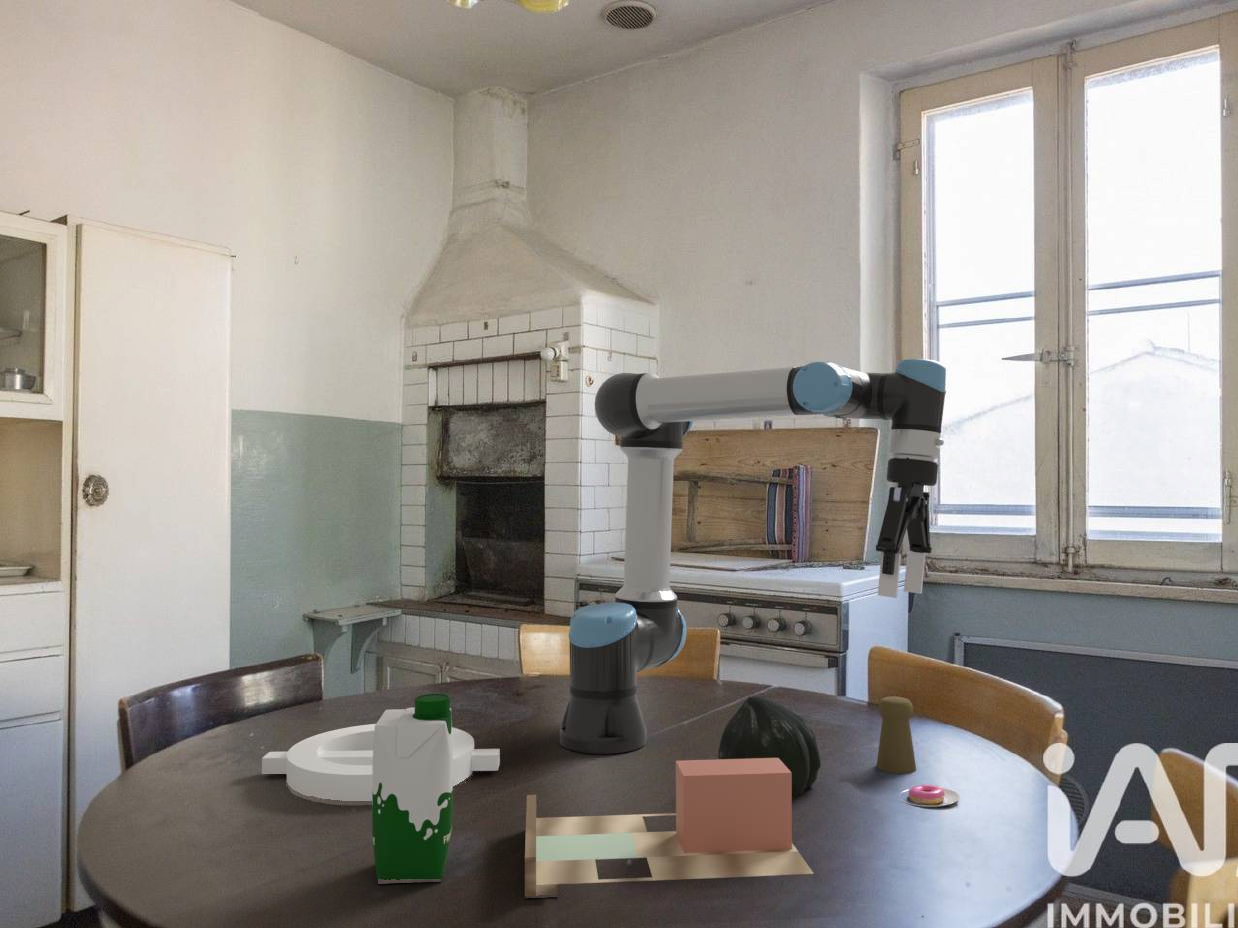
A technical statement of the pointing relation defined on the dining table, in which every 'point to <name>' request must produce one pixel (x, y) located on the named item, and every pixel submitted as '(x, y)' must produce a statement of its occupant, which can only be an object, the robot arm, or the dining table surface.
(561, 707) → the dining table surface
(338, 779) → the ring with crossbar
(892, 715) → the cork
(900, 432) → the robot arm
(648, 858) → the board
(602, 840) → the pad
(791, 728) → the squash
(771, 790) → the brick
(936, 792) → the donut
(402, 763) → the milk carton
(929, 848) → the dining table surface
